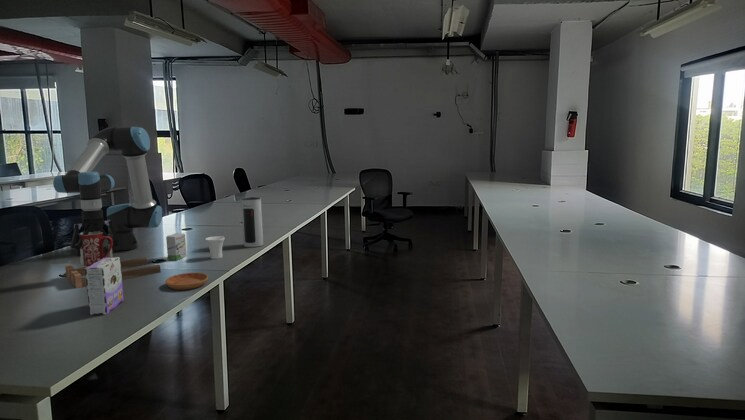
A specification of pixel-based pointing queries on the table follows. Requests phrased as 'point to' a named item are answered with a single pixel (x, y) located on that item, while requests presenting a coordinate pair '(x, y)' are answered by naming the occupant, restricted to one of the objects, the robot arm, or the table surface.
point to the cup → (215, 246)
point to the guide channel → (78, 282)
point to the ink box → (176, 246)
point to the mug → (93, 247)
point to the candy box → (104, 285)
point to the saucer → (186, 281)
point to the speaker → (252, 222)
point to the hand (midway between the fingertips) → (96, 261)
